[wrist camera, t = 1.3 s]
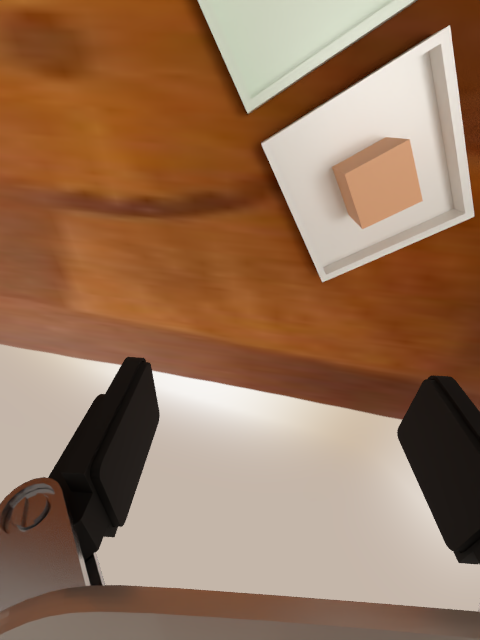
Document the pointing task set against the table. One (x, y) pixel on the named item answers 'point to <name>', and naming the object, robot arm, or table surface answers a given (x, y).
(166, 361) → the table surface
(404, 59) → the white tray
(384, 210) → the brown cube
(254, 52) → the green tray
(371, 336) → the table surface
